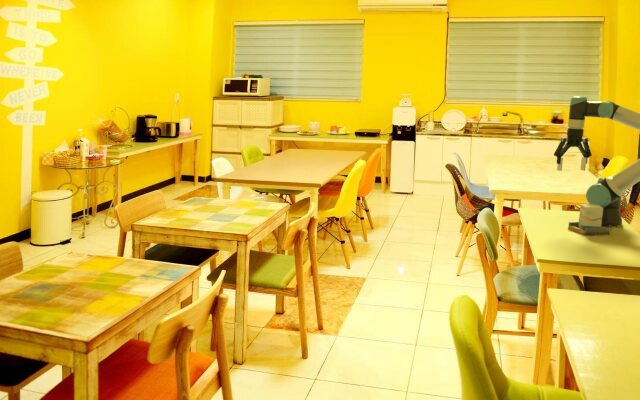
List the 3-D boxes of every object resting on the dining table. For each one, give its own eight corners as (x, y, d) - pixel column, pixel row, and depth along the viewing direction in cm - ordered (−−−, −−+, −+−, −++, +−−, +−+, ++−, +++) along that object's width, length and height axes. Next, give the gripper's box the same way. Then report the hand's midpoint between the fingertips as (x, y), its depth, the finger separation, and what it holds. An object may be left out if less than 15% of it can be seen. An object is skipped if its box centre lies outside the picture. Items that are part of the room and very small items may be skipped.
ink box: (601, 232, 295) (603, 207, 293) (582, 231, 296) (584, 206, 294) (596, 228, 303) (598, 204, 301) (577, 226, 305) (580, 203, 302)
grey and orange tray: (591, 228, 308) (591, 221, 307) (609, 234, 296) (610, 227, 295) (568, 229, 305) (568, 222, 304) (585, 235, 292) (586, 228, 292)
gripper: (592, 127, 318) (587, 169, 322) (549, 127, 311) (544, 169, 315) (602, 128, 310) (597, 171, 314) (558, 128, 304) (553, 171, 308)
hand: (571, 170), depth 315 cm, fingers open, 13 cm apart
